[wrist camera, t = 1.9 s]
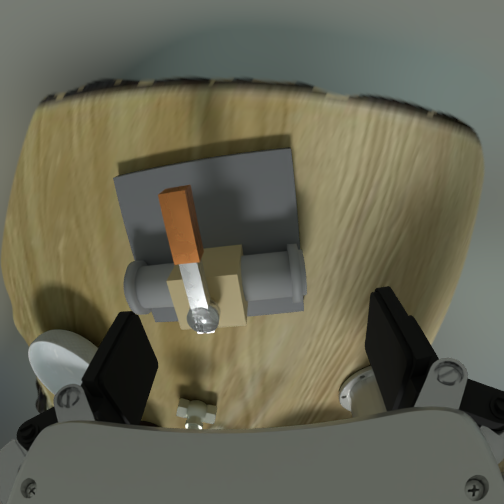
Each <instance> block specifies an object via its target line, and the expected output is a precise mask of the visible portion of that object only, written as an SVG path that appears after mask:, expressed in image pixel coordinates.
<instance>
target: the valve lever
mask: <svg viewBox="0 0 504 504" xmlns="http://www.w3.org/2000/svg"><path fill="white" fill-rule="evenodd" d="M158 198H159V203H160V207H161V212H162V216H163V220H164V225H165V229H166V233H167V237H168V241H169V245H170V249H171V253H172V257H173V261H174V265H177V264H179V267H180V271H181V275H182V279H183V283H184V286H185V290H186V294H187V297H188V301H189V304H190V308H189V311H188V314H187V322H188V324H189V326H190V327H191V328H192V329H193V330H195V331H197V332H198V333H214V332H215V329H216V328H217V327H218V325H219V319H220V314H221V309H220V307H219V305H218V304H217V303H216V302H215V301H214V300H212V299H211V298H210V294H209V290H208V285H207V281H206V277H205V272H204V268H203V263H202V259H201V258H202V256H203V253H204V249H203V245H202V240H201V235H200V230H199V225H198V220H197V215H196V210H195V205H194V200H193V195H192V189H191V185H185V186H179V187H173V188H167V189H164V190H163V191H162V192H161V193H159V194H158Z"/></svg>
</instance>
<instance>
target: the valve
mask: <svg viewBox="0 0 504 504" xmlns="http://www.w3.org/2000/svg"><path fill="white" fill-rule="evenodd" d="M216 412H217V406H213V405H206V404H205V403H204V402H202V401H199V400H192V401H189V400H186V399H182V398H180V400H179V404H178V409H177V415H176V416H179V417H183V418H187V419H188V420H186V423H185V427H186V429H202V428H203V423H202V422H206V423H210V424H214V422H215V417H216Z"/></svg>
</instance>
